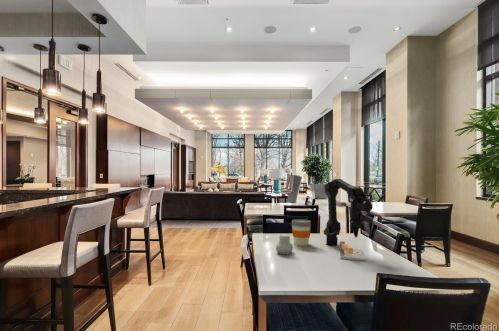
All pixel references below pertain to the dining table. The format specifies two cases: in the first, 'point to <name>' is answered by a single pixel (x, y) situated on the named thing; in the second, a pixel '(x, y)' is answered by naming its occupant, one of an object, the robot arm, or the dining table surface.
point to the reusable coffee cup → (301, 231)
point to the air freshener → (284, 245)
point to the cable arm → (346, 247)
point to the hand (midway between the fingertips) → (356, 237)
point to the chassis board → (352, 255)
